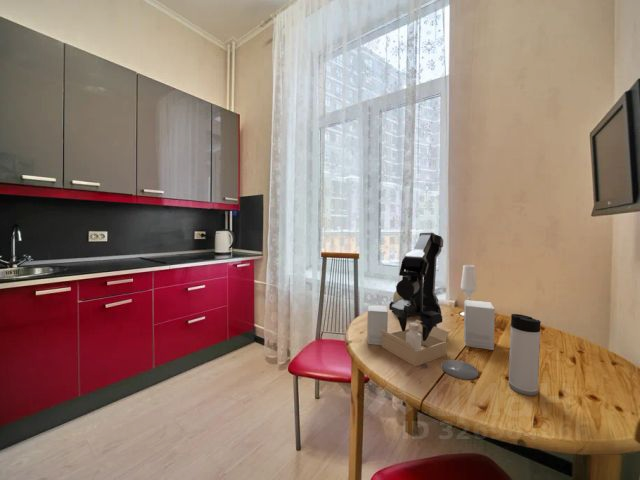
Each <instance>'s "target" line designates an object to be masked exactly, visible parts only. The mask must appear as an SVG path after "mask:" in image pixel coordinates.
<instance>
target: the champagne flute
mask: <svg viewBox="0 0 640 480" xmlns="http://www.w3.org/2000/svg"><path fill="white" fill-rule="evenodd" d="M461 274H462V275H461V282H460V290H461V291H462V292H463V293H464V294H465V295H466V300H470V296H471V295H472V294H474V293H475V292H476V291H477V281H476V280H477V279H476V268H475V265H470V264H463V266H462V273H461ZM459 315H461V316H463V317H464V311H462V312H460V313H459Z"/></svg>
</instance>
